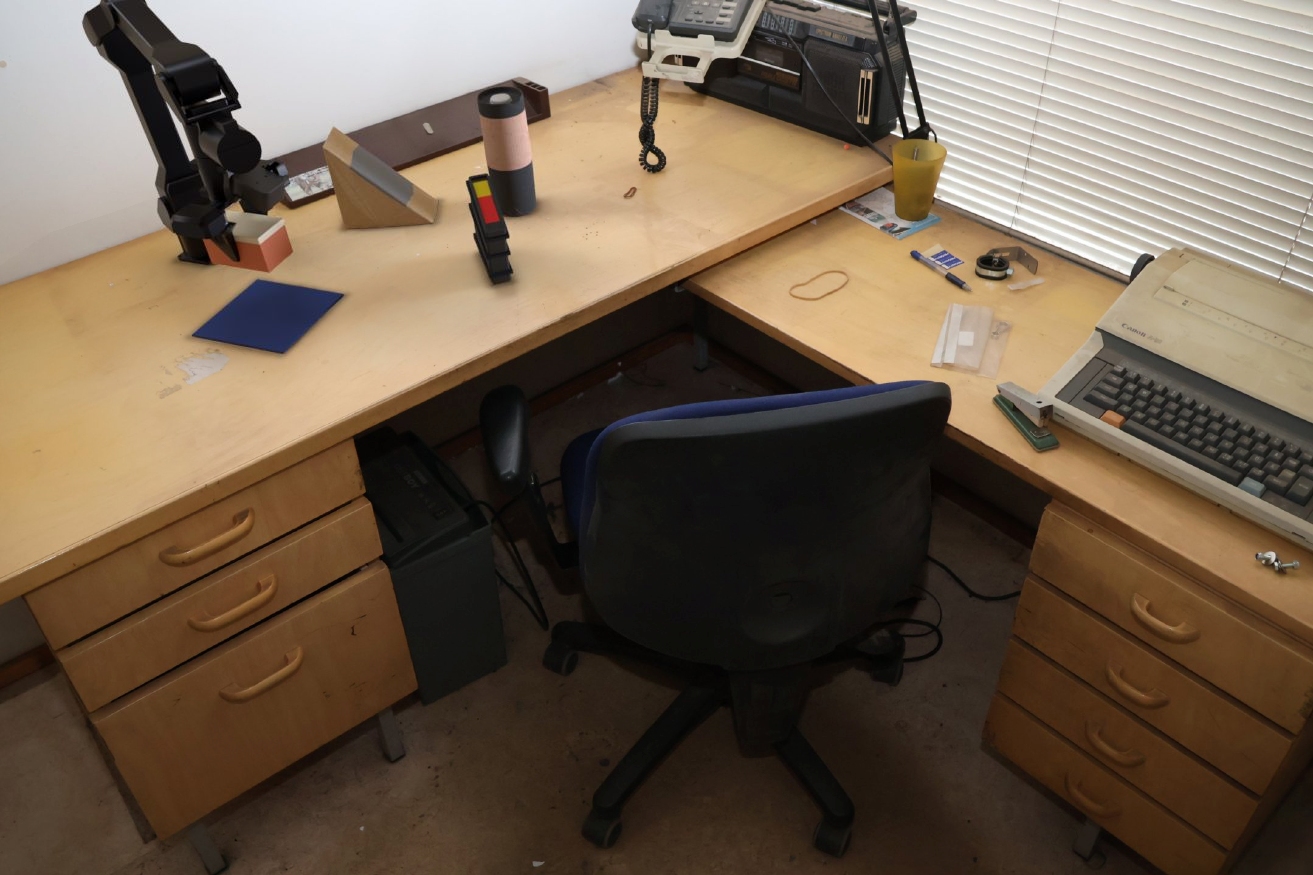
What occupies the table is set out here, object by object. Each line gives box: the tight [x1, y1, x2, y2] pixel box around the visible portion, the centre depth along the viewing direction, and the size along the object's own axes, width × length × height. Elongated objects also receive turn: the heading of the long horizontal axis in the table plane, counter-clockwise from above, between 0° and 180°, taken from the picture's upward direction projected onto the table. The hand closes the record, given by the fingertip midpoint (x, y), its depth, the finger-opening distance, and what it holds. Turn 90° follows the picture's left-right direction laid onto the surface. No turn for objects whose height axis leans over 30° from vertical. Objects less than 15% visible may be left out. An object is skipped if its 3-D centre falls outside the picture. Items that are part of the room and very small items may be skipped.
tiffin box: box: [203, 209, 294, 274], centre depth 146 cm, size 10×6×6 cm, turn 71°
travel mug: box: [476, 85, 537, 218], centre depth 169 cm, size 8×8×20 cm
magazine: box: [465, 172, 514, 285], centre depth 156 cm, size 4×13×15 cm
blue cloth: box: [191, 278, 345, 355], centre depth 152 cm, size 16×16×1 cm
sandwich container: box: [322, 126, 439, 230], centre depth 170 cm, size 9×15×15 cm, turn 93°
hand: (250, 250), depth 147 cm, fingers closed on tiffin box, 6 cm apart
